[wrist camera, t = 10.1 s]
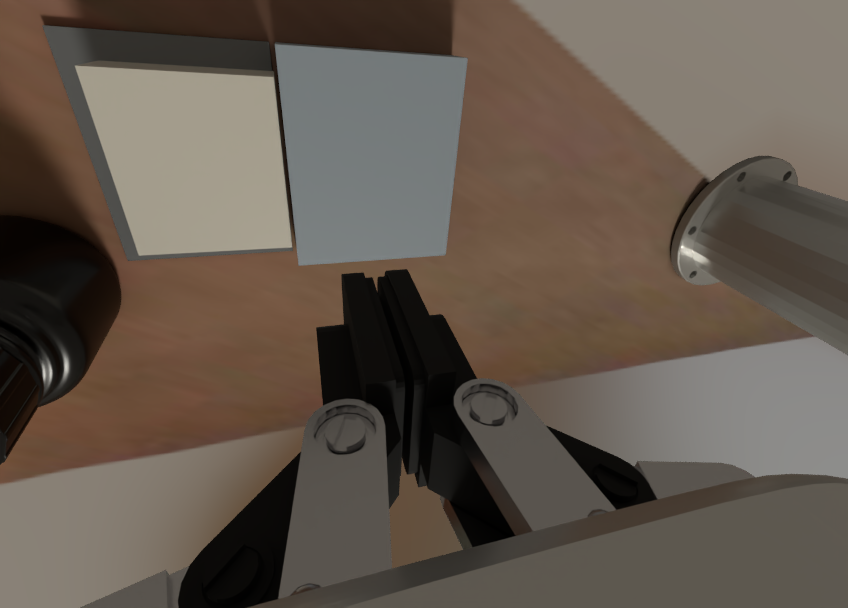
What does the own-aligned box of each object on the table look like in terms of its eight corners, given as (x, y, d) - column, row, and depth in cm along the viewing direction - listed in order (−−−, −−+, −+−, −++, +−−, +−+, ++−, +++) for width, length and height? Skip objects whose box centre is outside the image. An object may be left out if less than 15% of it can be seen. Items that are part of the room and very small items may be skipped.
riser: (452, 55, 24) (467, 58, 22) (434, 240, 31) (445, 255, 29) (274, 42, 22) (274, 44, 20) (296, 248, 28) (298, 265, 26)
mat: (268, 41, 22) (268, 42, 21) (292, 248, 28) (292, 250, 28) (45, 25, 19) (42, 25, 19) (129, 258, 25) (128, 260, 25)
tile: (273, 71, 22) (273, 77, 20) (290, 227, 27) (292, 247, 25) (98, 60, 20) (74, 65, 17) (151, 233, 25) (138, 255, 22)
